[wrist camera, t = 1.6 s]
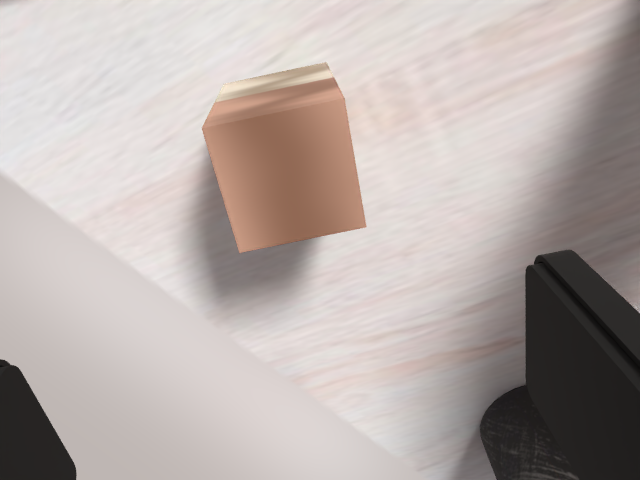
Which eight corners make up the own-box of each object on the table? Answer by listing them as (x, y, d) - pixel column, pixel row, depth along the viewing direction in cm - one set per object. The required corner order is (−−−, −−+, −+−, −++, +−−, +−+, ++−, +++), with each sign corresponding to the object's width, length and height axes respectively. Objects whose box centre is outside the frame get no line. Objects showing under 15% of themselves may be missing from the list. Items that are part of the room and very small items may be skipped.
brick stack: (326, 62, 25) (344, 98, 18) (344, 160, 27) (366, 227, 20) (224, 83, 25) (201, 128, 18) (250, 180, 28) (239, 252, 20)
